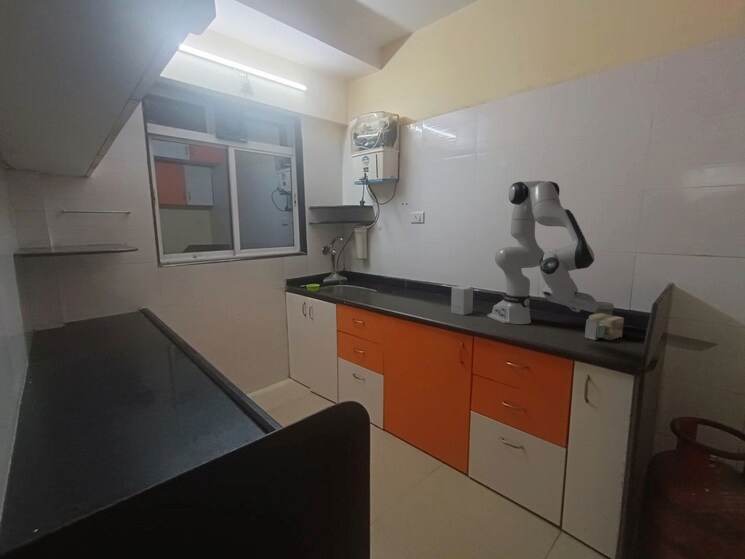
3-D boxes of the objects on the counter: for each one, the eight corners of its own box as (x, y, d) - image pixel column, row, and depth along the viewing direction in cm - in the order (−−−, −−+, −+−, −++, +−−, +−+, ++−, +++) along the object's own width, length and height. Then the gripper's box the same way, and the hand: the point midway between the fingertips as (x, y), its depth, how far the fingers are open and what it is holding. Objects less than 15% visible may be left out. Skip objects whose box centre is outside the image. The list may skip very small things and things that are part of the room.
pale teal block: (586, 334, 153) (588, 322, 152) (591, 333, 154) (592, 321, 153) (599, 337, 148) (600, 325, 147) (604, 336, 150) (605, 324, 149)
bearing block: (587, 334, 157) (588, 315, 155) (598, 331, 161) (600, 312, 160) (610, 340, 148) (612, 320, 147) (621, 337, 152) (624, 317, 151)
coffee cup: (607, 325, 170) (609, 301, 168) (615, 330, 162) (618, 305, 160) (588, 324, 172) (590, 301, 170) (595, 329, 164) (597, 304, 162)
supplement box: (473, 313, 196) (474, 287, 194) (463, 315, 191) (464, 289, 188) (460, 310, 203) (460, 285, 201) (450, 312, 198) (451, 287, 195)
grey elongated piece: (584, 337, 151) (586, 319, 150) (607, 331, 160) (609, 314, 158) (595, 340, 147) (596, 321, 146) (618, 333, 156) (620, 316, 154)
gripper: (595, 289, 128) (606, 310, 134) (546, 279, 146) (558, 299, 152) (586, 302, 127) (598, 323, 133) (538, 291, 145) (550, 310, 151)
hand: (576, 310), depth 143 cm, fingers closed
